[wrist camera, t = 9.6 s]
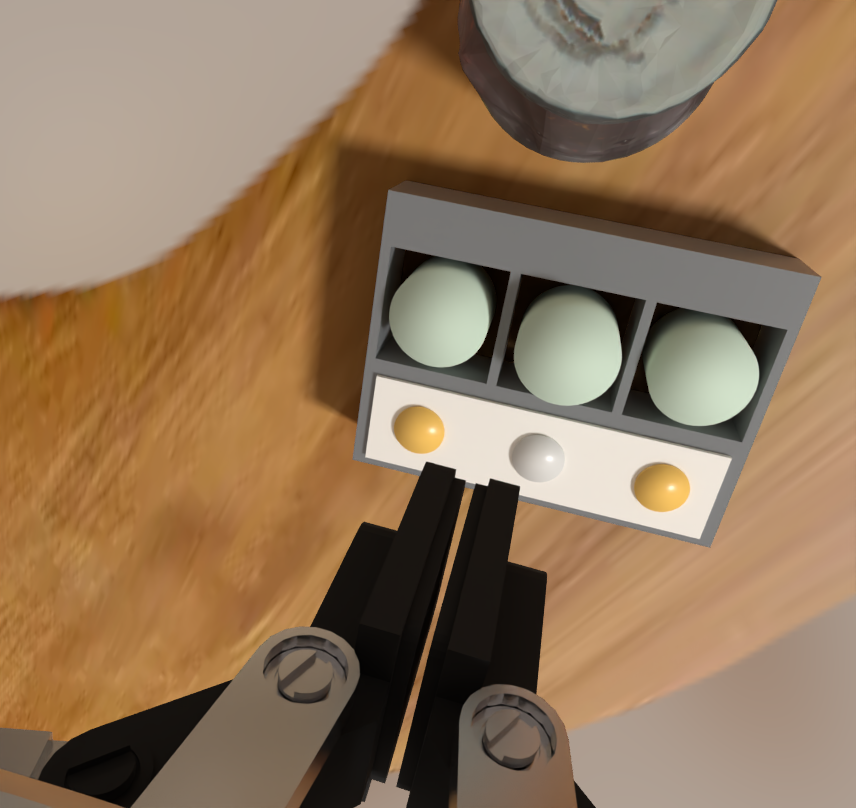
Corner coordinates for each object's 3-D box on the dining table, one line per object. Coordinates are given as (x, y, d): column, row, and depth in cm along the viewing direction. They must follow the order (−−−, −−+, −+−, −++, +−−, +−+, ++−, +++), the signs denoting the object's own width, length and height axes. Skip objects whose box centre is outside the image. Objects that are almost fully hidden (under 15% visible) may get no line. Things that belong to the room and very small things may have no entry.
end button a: (413, 245, 30) (396, 260, 28) (505, 264, 30) (497, 282, 27) (399, 332, 32) (383, 355, 29) (486, 352, 32) (477, 376, 29)
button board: (406, 180, 30) (385, 191, 27) (799, 258, 28) (824, 279, 25) (370, 430, 35) (350, 463, 32) (699, 510, 33) (711, 552, 30)
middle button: (531, 276, 29) (526, 295, 26) (630, 296, 29) (635, 318, 26) (511, 365, 31) (504, 392, 28) (603, 386, 30) (605, 415, 28)
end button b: (658, 296, 29) (665, 318, 27) (757, 317, 29) (775, 341, 26) (630, 384, 31) (635, 412, 28) (724, 405, 31) (737, 436, 28)
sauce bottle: (525, 160, 29) (429, 287, 11) (475, -6, 27) (253, -186, 9) (695, 98, 27) (918, 128, 9) (653, -87, 25) (834, -534, 7)
